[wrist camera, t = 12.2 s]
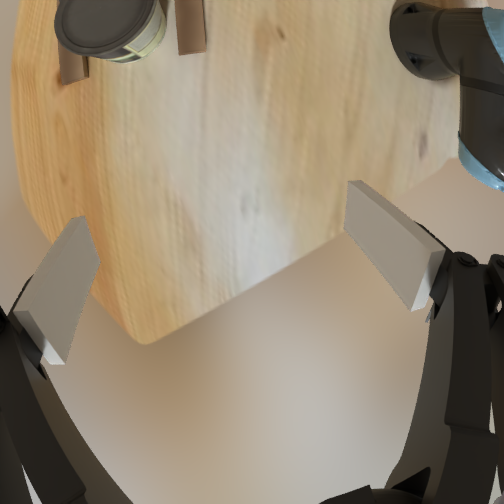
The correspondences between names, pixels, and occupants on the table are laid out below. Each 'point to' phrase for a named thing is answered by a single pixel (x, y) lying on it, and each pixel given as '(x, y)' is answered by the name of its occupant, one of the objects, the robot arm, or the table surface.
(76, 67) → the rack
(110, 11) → the coffee can
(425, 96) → the table surface
